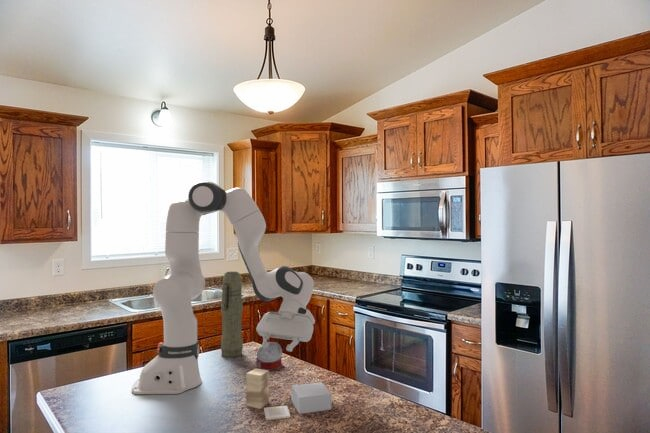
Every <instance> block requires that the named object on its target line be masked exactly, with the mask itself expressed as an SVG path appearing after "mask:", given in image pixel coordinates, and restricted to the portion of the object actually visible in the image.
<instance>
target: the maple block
mask: <svg viewBox="0 0 650 433" xmlns="http://www.w3.org/2000/svg"><path fill="white" fill-rule="evenodd" d="M245 375H246V378H245V380H246V381H245V382H246V383H245V384H246V386H245V387H246V392H245V393H246V394H245V395H246V398H245V402H246V403H245V404H246V405H245V406H246V407H250V408H255V409H259V410H261V409H262V408H265V406H267V405H268V404H269V403H270V370H264V369H259V368H257V367H256V368H253V369H252V370H249V371H248V372H246V374H245Z"/></svg>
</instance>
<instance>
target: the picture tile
mask: <svg viewBox="0 0 650 433" xmlns="http://www.w3.org/2000/svg"><path fill="white" fill-rule="evenodd" d="M263 411H264V412H263V413H264V417H265V421H269V420H270V421H271V420H279V419H280V420H281V419H290V418H291V413H290V410H289V407H288V405H280V406H269V407H263Z"/></svg>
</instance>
